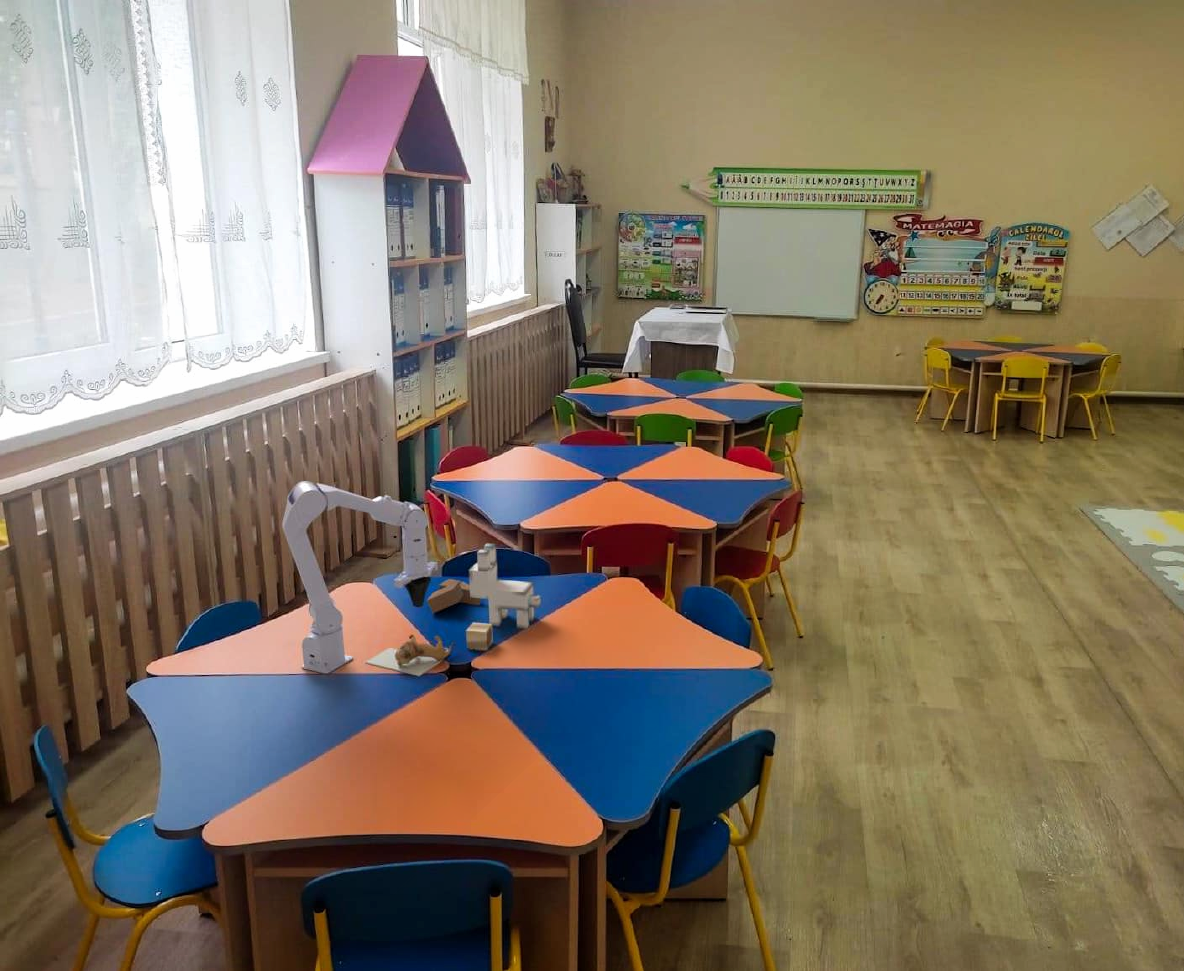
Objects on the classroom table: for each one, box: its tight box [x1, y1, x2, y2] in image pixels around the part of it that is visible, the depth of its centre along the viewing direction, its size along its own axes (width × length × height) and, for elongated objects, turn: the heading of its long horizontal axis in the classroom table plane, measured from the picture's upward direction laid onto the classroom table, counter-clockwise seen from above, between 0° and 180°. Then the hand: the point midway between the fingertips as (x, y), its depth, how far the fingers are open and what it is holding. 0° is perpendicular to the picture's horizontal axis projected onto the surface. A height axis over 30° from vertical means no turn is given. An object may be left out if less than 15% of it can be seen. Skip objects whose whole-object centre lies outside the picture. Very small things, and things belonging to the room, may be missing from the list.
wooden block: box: [426, 578, 482, 614], centre depth 267 cm, size 8×13×18 cm
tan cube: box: [465, 622, 494, 651], centre depth 241 cm, size 5×5×5 cm
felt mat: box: [365, 647, 443, 677], centre depth 232 cm, size 9×16×1 cm, turn 62°
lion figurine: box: [395, 634, 457, 666], centre depth 232 cm, size 15×5×9 cm
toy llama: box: [468, 542, 541, 630], centre depth 253 cm, size 8×18×20 cm, turn 76°
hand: (418, 606), depth 239 cm, fingers closed
